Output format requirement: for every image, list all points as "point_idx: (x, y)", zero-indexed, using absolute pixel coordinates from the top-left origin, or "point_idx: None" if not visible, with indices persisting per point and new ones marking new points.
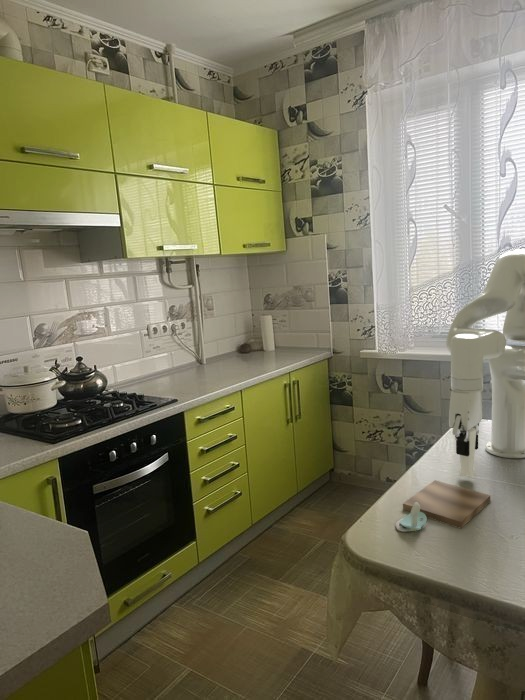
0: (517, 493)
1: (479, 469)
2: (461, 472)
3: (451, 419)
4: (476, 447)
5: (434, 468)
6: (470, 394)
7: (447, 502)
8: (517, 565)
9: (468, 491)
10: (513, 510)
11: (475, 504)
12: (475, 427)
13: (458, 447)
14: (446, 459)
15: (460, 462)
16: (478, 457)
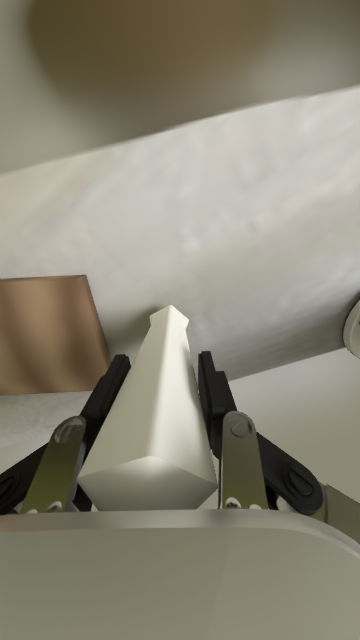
0: None
1: (247, 310)
2: (150, 323)
3: None
4: (199, 391)
5: (187, 206)
6: None
7: (14, 354)
8: (4, 445)
9: (94, 360)
10: None
11: (59, 387)
12: (218, 505)
13: (94, 391)
14: (281, 198)
15: (147, 334)
16: (331, 274)
